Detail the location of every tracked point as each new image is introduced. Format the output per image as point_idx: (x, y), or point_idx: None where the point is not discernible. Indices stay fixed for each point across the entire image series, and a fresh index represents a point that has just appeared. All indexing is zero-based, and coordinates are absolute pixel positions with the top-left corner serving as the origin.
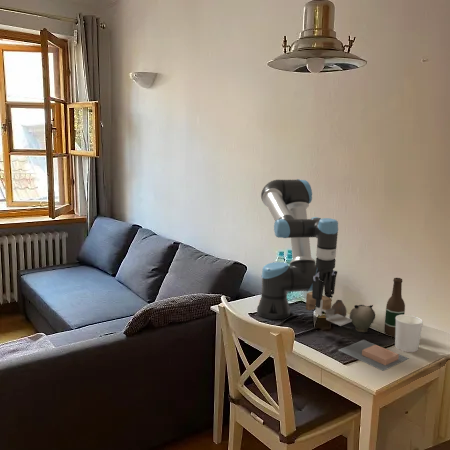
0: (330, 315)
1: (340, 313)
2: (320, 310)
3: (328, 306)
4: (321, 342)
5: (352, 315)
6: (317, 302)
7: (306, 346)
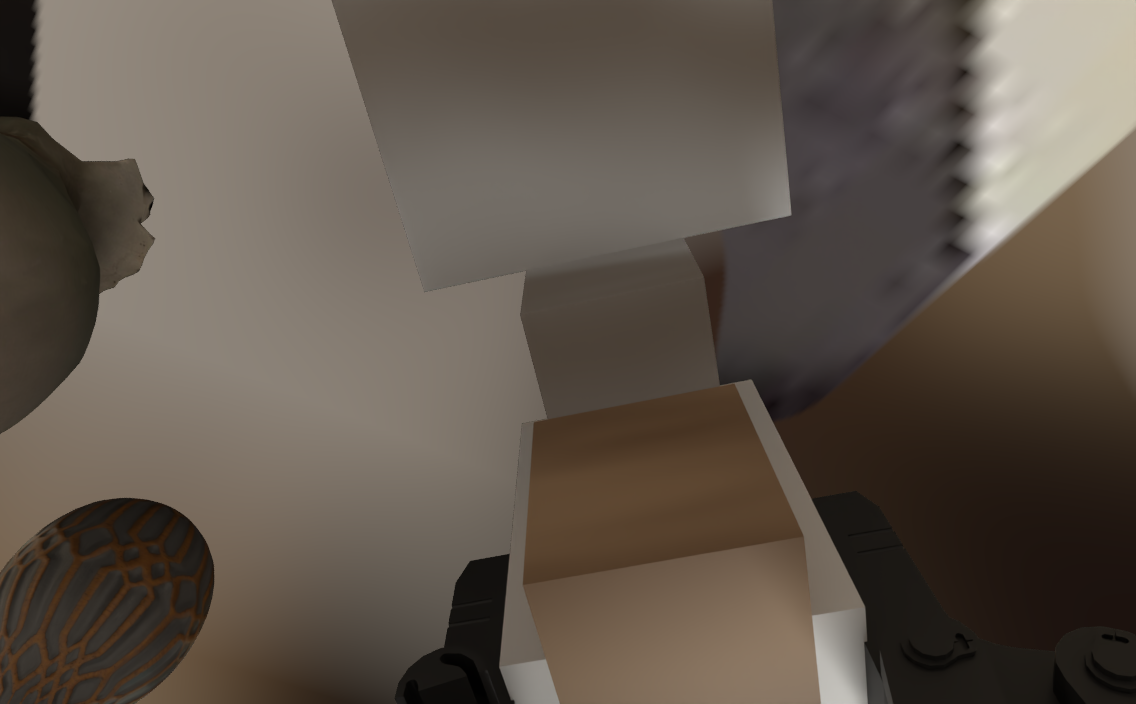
0: (652, 251)
1: (117, 550)
2: (778, 446)
3: (636, 436)
4: None
5: (41, 309)
6: (926, 603)
7: (997, 118)
